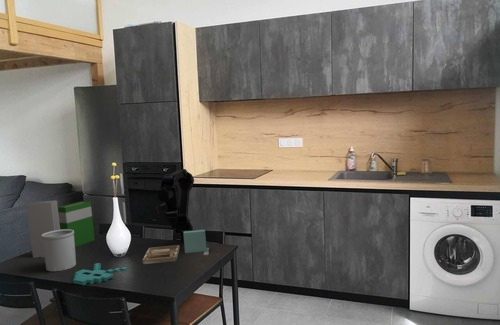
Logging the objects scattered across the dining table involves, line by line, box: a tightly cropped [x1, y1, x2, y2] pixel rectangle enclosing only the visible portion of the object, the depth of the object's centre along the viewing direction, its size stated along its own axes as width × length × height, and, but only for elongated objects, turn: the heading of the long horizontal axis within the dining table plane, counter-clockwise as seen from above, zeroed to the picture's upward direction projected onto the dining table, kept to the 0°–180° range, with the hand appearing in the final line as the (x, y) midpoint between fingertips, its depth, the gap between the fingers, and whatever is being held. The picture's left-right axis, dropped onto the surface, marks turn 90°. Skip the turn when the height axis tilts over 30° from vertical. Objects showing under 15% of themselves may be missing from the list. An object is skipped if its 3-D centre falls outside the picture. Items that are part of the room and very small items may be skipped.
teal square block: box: [183, 229, 208, 254], centre depth 217 cm, size 3×11×11 cm, turn 95°
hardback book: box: [57, 200, 96, 248], centre depth 251 cm, size 18×7×24 cm, turn 150°
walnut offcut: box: [148, 253, 170, 259], centre depth 208 cm, size 4×10×2 cm, turn 100°
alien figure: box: [72, 262, 129, 286], centre depth 194 cm, size 20×2×20 cm
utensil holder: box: [41, 229, 77, 272], centre depth 210 cm, size 15×15×18 cm
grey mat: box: [202, 247, 210, 256], centre depth 218 cm, size 11×13×1 cm
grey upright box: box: [26, 200, 60, 259], centre depth 230 cm, size 14×6×30 cm, turn 84°
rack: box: [142, 244, 181, 265], centre depth 213 cm, size 20×16×3 cm
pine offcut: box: [152, 249, 170, 256], centre depth 208 cm, size 4×8×2 cm, turn 91°
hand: (174, 227), depth 223 cm, fingers open, 9 cm apart
